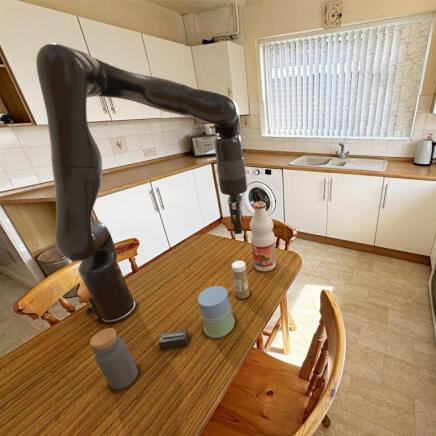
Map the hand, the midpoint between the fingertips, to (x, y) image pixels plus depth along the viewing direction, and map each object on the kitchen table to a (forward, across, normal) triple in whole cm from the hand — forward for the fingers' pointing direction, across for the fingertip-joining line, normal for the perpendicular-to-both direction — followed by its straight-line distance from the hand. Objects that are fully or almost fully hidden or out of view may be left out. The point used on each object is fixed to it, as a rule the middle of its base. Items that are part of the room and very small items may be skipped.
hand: (238, 226), depth 73 cm
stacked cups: (+28, +11, -9) cm, 31 cm away
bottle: (+28, +23, -31) cm, 48 cm away
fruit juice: (+28, -17, +8) cm, 33 cm away
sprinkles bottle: (+28, -1, -2) cm, 28 cm away
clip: (+28, +15, -21) cm, 38 cm away
